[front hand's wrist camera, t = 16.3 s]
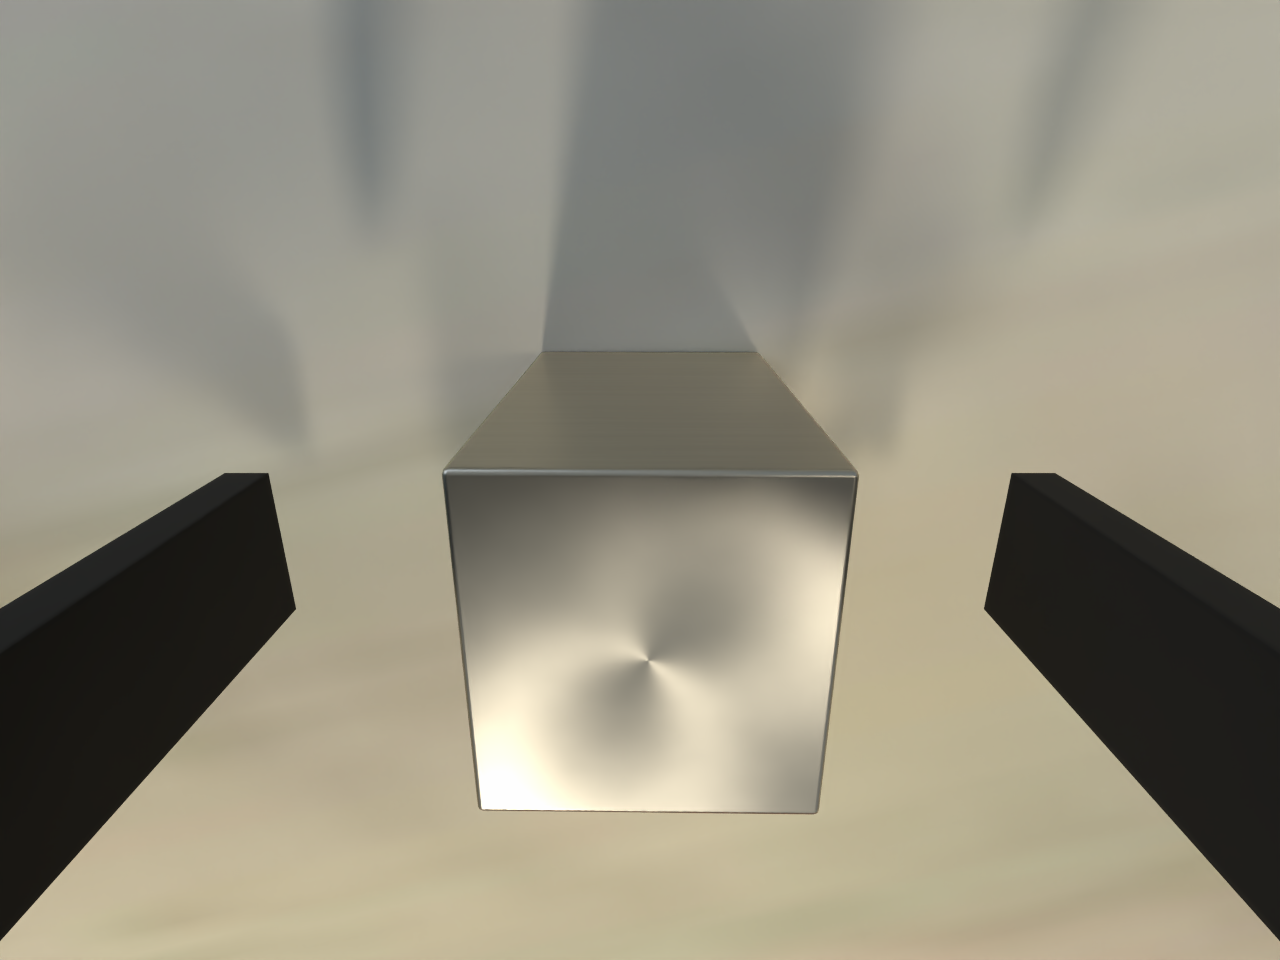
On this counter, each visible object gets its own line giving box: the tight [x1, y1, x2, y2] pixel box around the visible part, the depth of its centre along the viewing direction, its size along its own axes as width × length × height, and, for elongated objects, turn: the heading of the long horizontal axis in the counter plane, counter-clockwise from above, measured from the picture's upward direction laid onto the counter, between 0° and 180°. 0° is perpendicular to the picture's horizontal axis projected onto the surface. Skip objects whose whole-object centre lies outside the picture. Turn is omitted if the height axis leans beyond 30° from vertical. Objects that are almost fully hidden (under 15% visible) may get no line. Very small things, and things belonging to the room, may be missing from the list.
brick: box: [442, 352, 859, 814], centre depth 13 cm, size 5×5×8 cm
